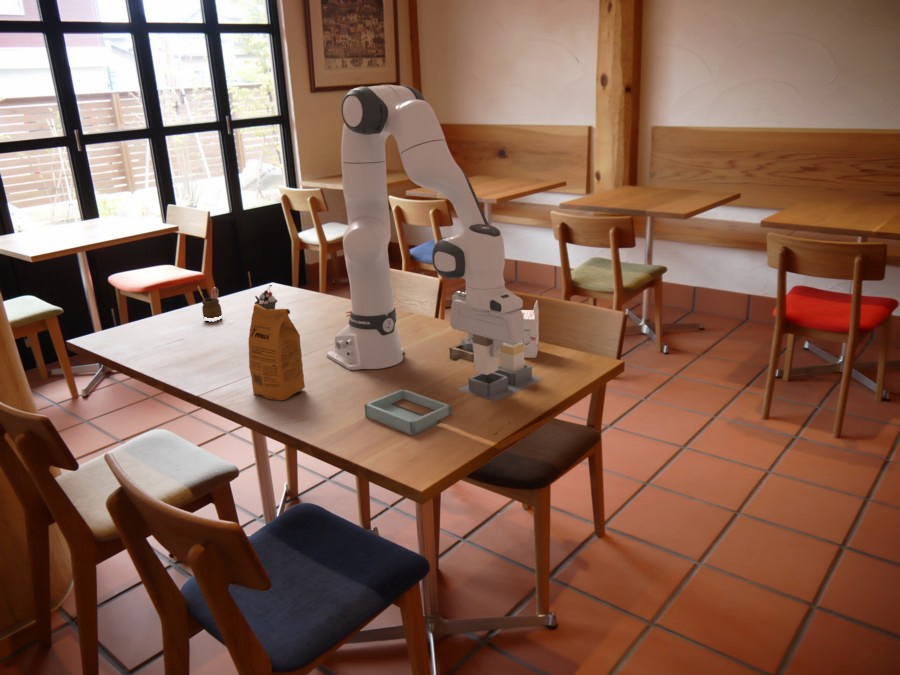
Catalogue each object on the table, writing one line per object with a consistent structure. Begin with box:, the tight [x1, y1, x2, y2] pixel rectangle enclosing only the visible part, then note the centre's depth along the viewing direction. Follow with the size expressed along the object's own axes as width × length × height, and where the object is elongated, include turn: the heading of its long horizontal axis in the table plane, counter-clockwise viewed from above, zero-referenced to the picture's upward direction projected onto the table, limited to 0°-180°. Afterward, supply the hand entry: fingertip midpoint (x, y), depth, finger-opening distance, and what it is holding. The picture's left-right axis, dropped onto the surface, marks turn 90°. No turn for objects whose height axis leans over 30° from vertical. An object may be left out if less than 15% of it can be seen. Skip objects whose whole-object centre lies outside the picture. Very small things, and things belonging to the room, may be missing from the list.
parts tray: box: [364, 388, 452, 437], centre depth 165 cm, size 16×12×3 cm
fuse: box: [500, 342, 525, 372], centre depth 181 cm, size 4×4×9 cm
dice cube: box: [461, 337, 474, 353], centre depth 200 cm, size 5×5×5 cm
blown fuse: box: [473, 334, 499, 375], centre depth 173 cm, size 4×4×9 cm
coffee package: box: [248, 303, 306, 401], centre depth 179 cm, size 10×12×22 cm
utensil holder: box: [197, 285, 223, 318], centre depth 244 cm, size 6×6×12 cm
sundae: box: [254, 284, 278, 310], centre depth 227 cm, size 7×7×15 cm
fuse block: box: [457, 363, 544, 403], centre depth 179 cm, size 12×18×4 cm, turn 136°
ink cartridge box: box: [520, 299, 540, 359], centre depth 198 cm, size 9×5×15 cm, turn 168°
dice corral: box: [449, 342, 474, 363], centre depth 200 cm, size 9×9×3 cm
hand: (486, 354), depth 173 cm, fingers closed on blown fuse, 4 cm apart
